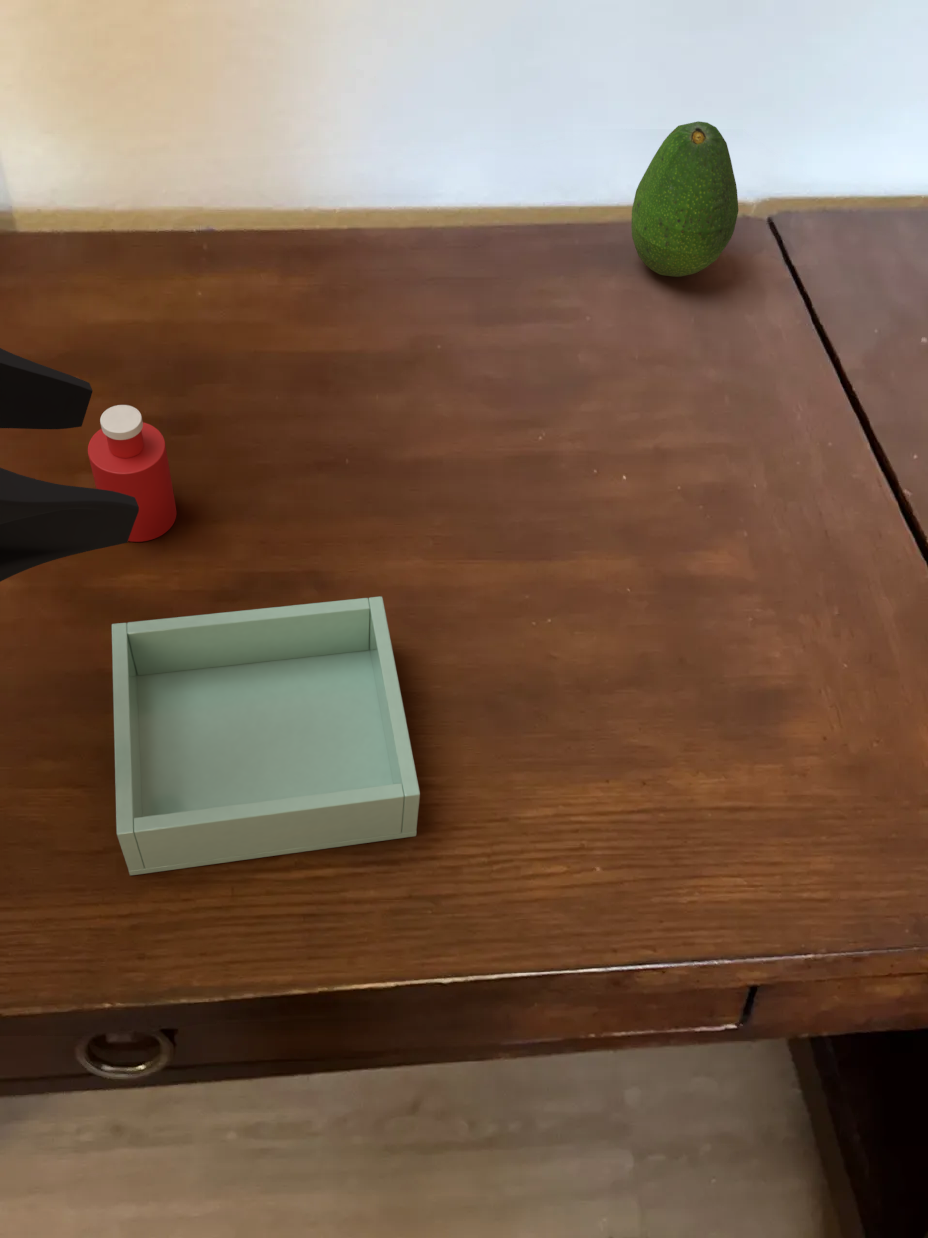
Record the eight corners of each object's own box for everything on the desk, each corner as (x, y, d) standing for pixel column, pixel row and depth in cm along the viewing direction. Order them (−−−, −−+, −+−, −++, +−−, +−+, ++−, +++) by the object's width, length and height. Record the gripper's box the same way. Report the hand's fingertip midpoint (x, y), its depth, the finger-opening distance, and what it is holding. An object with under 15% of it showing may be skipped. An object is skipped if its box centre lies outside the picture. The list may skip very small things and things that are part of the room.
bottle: (104, 545, 74) (80, 448, 67) (103, 492, 76) (80, 394, 70) (178, 538, 74) (162, 442, 68) (174, 486, 77) (158, 389, 70)
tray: (129, 876, 61) (116, 834, 57) (123, 671, 68) (111, 623, 65) (416, 836, 63) (420, 794, 60) (380, 643, 71) (382, 595, 67)
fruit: (599, 255, 95) (627, 112, 85) (677, 227, 98) (712, 86, 88) (662, 312, 91) (699, 169, 82) (741, 282, 94) (785, 140, 85)
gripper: (-228, 483, 38) (182, 504, 46) (-268, 227, 46) (88, 284, 54) (-248, 637, 42) (132, 631, 50) (-281, 378, 50) (52, 409, 58)
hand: (107, 460), depth 52 cm, fingers open, 7 cm apart
